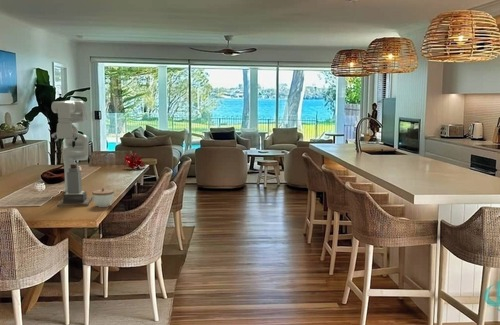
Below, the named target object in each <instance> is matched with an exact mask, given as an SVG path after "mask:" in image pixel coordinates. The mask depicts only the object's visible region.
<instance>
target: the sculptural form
mask: <svg viewBox="0 0 500 325" xmlns="http://www.w3.org/2000/svg"><path fill="white" fill-rule="evenodd" d="M129 154H130V150H128V152H127V154H126V155H125V157H124V158H123V160H124V161H123V163H122V165H124V169H125V168H126V167H128V168H130V169H132V170H135V169H140V168H143V167H147V166H146V164H145V162H144V160H142V159H143V157H144V156H141V154H140V155H139V156H138V155H137V153H136V152H134V151H132V152H131V154H130V155H129Z"/></svg>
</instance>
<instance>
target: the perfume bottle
mask: <svg viewBox="0 0 500 325" xmlns="http://www.w3.org/2000/svg"><path fill="white" fill-rule="evenodd" d="M77 165H78V163H77V164H71V165H70V166H71V167H70V168H68V169H69V172H67V185H68V194H74V193H80V192H82V191H83V189H82V188H83V185H82V171H81V170H80V166H78V167H77Z"/></svg>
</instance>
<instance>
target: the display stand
mask: <svg viewBox="0 0 500 325" xmlns="http://www.w3.org/2000/svg"><path fill="white" fill-rule="evenodd" d="M92 201H93V196H87V190H82V192H80V193H74V194H68V191H67V192H64V193H63V195H62V199H60V201H59V202H58V203H57V204H56V208H66V207H88V206H89V205H90V204H91V202H92ZM89 203H90V204H89Z"/></svg>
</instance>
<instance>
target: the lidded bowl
mask: <svg viewBox="0 0 500 325" xmlns="http://www.w3.org/2000/svg"><path fill="white" fill-rule="evenodd" d="M92 201H93V202H94V204H95V206H97V207H99V208H107V207H110V205H111V204H112V203H113V201H114V190H113V189H105V188H104V187H101V189H97V190H93V191H92Z"/></svg>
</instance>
